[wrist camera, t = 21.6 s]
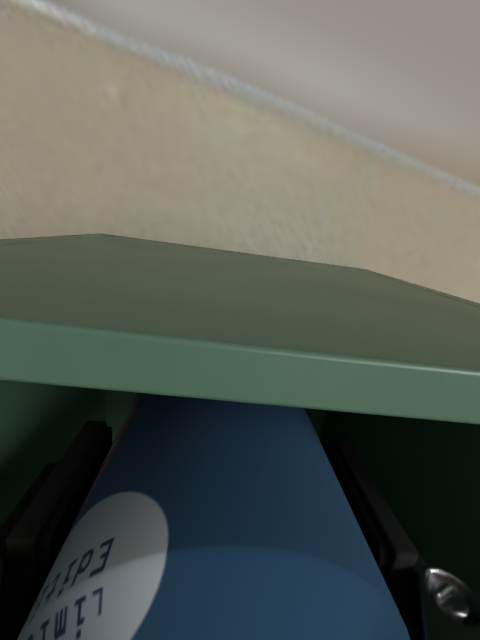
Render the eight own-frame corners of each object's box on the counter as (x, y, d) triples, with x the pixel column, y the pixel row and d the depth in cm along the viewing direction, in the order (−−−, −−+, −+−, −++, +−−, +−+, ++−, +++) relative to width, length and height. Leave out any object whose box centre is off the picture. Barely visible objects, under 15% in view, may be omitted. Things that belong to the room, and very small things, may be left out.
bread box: (99, 233, 17) (-481, 265, 3) (367, 269, 19) (832, 409, 4) (98, 452, 21) (-152, 900, 7) (317, 468, 23) (474, 872, 8)
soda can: (119, 358, 14) (-294, 901, 3) (259, 301, 14) (447, 652, 2) (183, 470, 16) (97, 1053, 5) (307, 423, 16) (534, 929, 4)
